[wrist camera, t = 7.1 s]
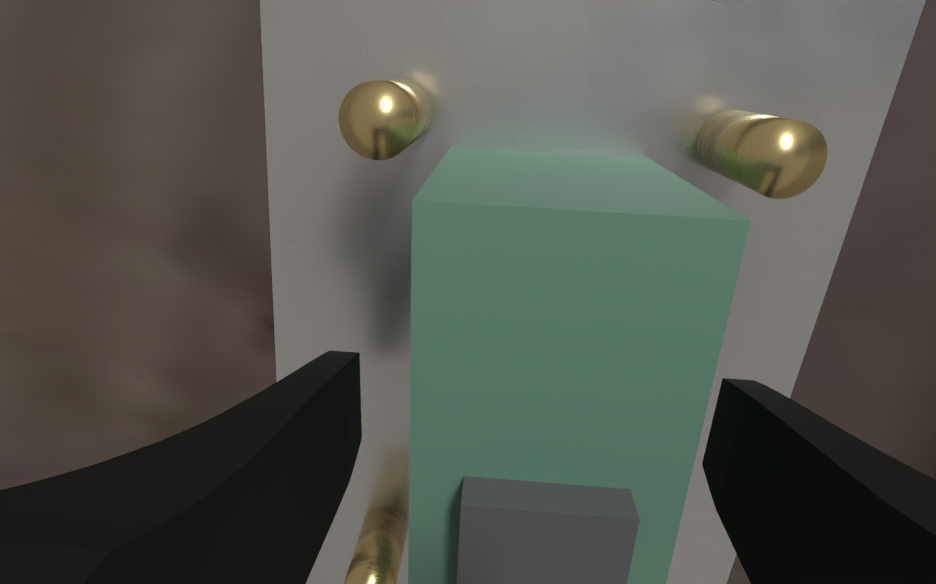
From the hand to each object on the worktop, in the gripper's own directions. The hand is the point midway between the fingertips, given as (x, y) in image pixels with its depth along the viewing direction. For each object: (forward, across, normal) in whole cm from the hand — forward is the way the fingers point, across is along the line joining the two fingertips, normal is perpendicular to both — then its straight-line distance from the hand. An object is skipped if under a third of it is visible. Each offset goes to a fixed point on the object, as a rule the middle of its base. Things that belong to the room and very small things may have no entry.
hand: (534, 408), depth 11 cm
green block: (+2, 0, -1) cm, 2 cm away
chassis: (+3, 0, 0) cm, 3 cm away
